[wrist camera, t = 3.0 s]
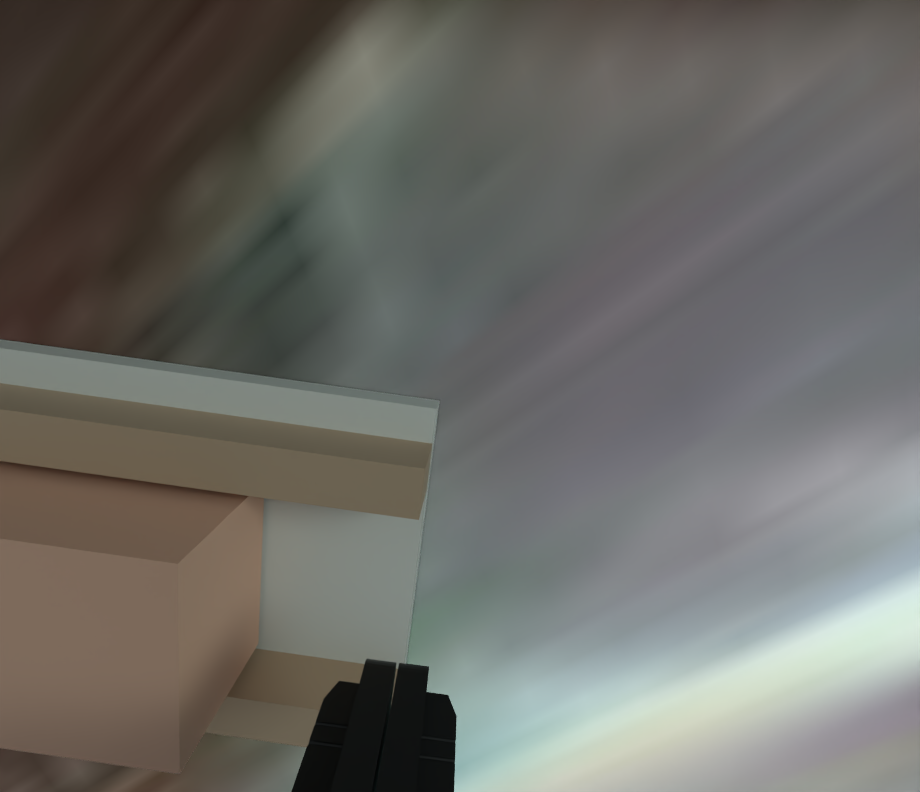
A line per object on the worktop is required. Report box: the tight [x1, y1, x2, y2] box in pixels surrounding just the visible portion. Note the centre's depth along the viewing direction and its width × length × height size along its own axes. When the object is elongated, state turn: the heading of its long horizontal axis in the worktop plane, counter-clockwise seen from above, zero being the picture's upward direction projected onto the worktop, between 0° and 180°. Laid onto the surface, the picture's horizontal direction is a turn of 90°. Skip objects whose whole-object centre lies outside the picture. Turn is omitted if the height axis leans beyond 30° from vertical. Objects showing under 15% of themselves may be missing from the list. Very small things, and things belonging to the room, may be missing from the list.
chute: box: [0, 339, 439, 747], centre depth 16 cm, size 22×12×3 cm, turn 82°
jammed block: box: [0, 461, 264, 774], centre depth 14 cm, size 8×6×4 cm
